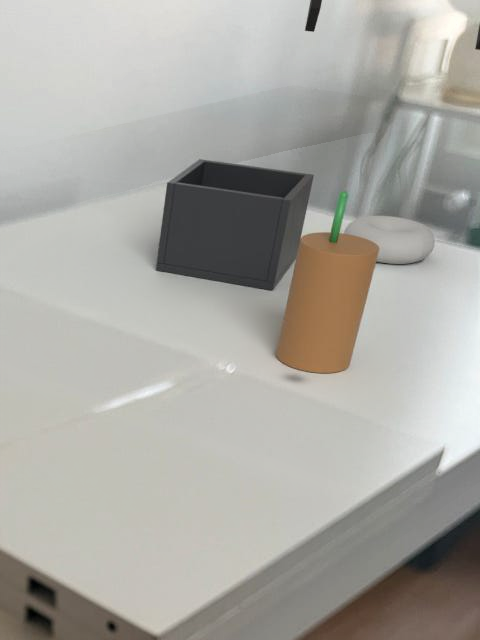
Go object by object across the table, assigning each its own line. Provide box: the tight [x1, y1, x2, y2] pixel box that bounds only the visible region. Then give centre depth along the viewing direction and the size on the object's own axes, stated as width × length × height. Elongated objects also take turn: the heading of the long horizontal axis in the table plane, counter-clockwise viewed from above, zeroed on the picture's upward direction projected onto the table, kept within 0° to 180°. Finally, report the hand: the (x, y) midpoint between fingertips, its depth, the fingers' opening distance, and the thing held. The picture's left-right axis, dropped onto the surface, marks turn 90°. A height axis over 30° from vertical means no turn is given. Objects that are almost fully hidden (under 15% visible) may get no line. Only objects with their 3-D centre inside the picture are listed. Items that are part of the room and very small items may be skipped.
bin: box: [155, 158, 315, 291], centre depth 110 cm, size 13×13×9 cm
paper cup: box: [275, 190, 379, 374], centre depth 87 cm, size 6×6×14 cm
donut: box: [343, 215, 436, 265], centre depth 117 cm, size 10×3×10 cm
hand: (398, 29), depth 83 cm, fingers open, 13 cm apart
